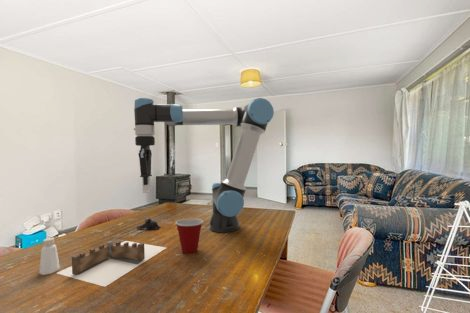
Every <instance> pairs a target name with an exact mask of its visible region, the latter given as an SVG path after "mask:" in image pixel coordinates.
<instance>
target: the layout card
mask: <svg viewBox="0 0 470 313" xmlns="http://www.w3.org/2000/svg"><path fill="white" fill-rule="evenodd" d="M126 242H129V246H132V244H133V243H137V245H138V244H140V243H141V242H136V241H129V240H125V241H121V245H124V243H126ZM166 249H167V247H165V246H158V245H152V244H146V243H144V253H145V259H144V260H142V261H140V260H136V259H127V258H119V257H109V258H107V259H105V260H103V261H101V262H99V263H97V264H95V265H93V266H91V267H89V268H87V269H85V270H83V271H81V272H80V273H78V274H76V275H74V274H72V265H71V266H69V267H66V268H65V269H62V270H60V271H57V272H56V275H60V276H65V277H68V278H71V279H75V280H79V281H82V282H86V283H88V284H89V283H90V284H93V285H97V286H101V287H104V288H106V287H107V286H108V285H110V284H112V283H115V281H116V280H118V279H119V278H121V277H123V276H125V275H126V274H127V273H129V272H131V271H132V270H134V269H136V268H138V267H139V266H140V265H142V264H144V263H146V262H147V261H149V260H150V259H151V258H153V257H155V256H156V255H158V254H159V253H161V252H162V251H164V250H166Z"/></svg>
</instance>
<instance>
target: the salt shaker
mask: <svg viewBox="0 0 470 313" xmlns="http://www.w3.org/2000/svg"><path fill="white" fill-rule="evenodd" d="M57 247H58V246H57V244H55V238H54V237H48V238H45V239H43V247H42V248H41V251H40V261H39V262H40V264H39V275H42V276H45V275H50V274H53V273H55V272H59V270H60V268H61V266H60V261H59V260H60V259H59V254H58V248H57Z"/></svg>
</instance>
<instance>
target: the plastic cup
mask: <svg viewBox="0 0 470 313" xmlns="http://www.w3.org/2000/svg"><path fill="white" fill-rule="evenodd" d="M203 223H204V220H202V219H200V218H182V219H178V220H176V221H175V225H176V229H177V232H178V238H179V242H180V243H179V245H180V246H181V251H182V253H183V254H185V255H192V254H195V253H196V252H197V251H198V249H199V248H198V247H199V242H200V236H201V235H200V234H201V230H202V226H203Z"/></svg>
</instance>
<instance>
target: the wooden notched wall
mask: <svg viewBox="0 0 470 313" xmlns="http://www.w3.org/2000/svg"><path fill="white" fill-rule="evenodd" d="M121 243H122V241H121V240H119V241H116V242H115V243H114V241H113V240H110V241H107V243H106V246H108V257H119V258H127V259H136V260H140V261H142V260H144V259H145V253H144V244H145V243H144V242H139V243H140V244H138V245H137V243H138V242H136V243H133V244H132V246H129V242H126V243H124V245H121Z"/></svg>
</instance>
